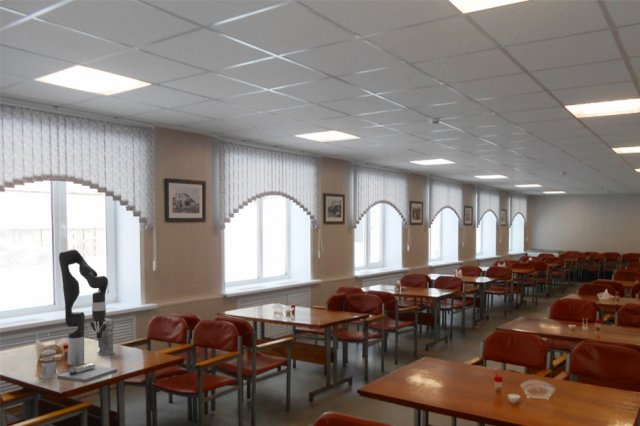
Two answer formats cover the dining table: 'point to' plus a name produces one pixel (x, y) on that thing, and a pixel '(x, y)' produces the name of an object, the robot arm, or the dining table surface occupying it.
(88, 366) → the bar
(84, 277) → the robot arm
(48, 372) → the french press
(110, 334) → the figurine
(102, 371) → the jamb plate
